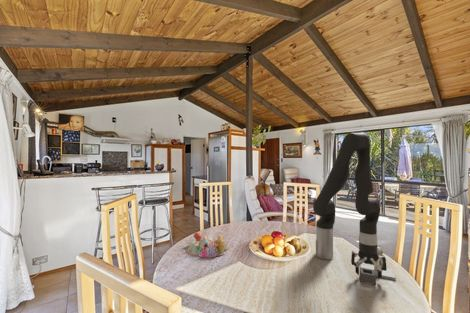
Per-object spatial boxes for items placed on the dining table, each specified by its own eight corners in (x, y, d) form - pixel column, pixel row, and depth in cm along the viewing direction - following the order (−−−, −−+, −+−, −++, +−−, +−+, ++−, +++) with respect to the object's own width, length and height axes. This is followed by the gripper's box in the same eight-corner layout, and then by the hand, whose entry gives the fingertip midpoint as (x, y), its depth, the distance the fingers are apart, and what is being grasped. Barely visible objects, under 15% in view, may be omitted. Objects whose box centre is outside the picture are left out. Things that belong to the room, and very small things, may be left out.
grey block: (360, 281, 106) (360, 273, 106) (359, 275, 111) (359, 267, 111) (375, 284, 103) (375, 276, 103) (373, 278, 109) (374, 269, 109)
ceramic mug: (383, 264, 122) (383, 250, 122) (365, 261, 126) (365, 247, 126) (380, 256, 132) (380, 243, 132) (364, 254, 135) (364, 241, 135)
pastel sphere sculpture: (227, 242, 153) (227, 229, 153) (227, 258, 130) (227, 242, 130) (190, 242, 153) (190, 229, 153) (183, 259, 129) (183, 243, 129)
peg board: (361, 273, 113) (361, 259, 112) (360, 264, 122) (360, 251, 122) (395, 280, 107) (395, 265, 107) (391, 270, 116) (391, 256, 116)
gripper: (351, 242, 106) (351, 276, 106) (387, 247, 101) (387, 283, 100) (350, 237, 113) (351, 269, 113) (384, 241, 107) (384, 275, 107)
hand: (368, 276), depth 107 cm, fingers open, 8 cm apart
